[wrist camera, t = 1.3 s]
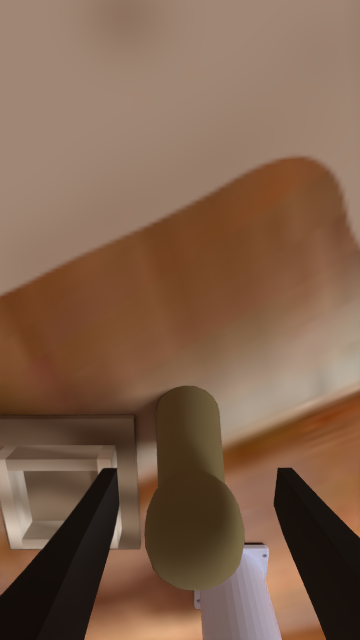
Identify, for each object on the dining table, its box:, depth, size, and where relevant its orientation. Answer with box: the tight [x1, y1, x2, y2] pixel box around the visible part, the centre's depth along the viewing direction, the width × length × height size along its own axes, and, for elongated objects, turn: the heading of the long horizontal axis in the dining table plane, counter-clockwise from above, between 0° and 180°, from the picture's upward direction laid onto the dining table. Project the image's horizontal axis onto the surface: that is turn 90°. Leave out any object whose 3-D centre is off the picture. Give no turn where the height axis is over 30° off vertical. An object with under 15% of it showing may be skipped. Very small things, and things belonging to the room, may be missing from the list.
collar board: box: [0, 415, 141, 550], centre depth 21 cm, size 16×14×2 cm
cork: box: [145, 386, 245, 591], centre depth 15 cm, size 6×6×11 cm
